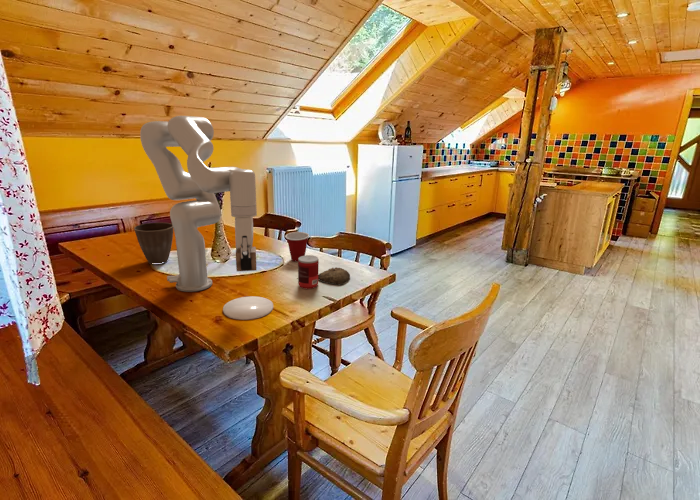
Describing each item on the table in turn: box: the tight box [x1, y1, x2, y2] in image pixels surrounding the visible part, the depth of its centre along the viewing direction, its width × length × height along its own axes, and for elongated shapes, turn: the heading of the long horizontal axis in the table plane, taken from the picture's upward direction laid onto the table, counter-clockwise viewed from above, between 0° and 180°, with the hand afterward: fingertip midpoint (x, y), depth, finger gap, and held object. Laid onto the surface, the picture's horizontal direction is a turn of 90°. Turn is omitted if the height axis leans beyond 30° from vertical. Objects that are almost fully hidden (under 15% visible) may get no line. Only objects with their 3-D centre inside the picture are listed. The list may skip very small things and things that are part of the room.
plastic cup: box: [285, 231, 310, 263], centre depth 174 cm, size 11×11×12 cm
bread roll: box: [318, 267, 351, 286], centre depth 154 cm, size 13×12×5 cm
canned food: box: [297, 254, 320, 290], centre depth 145 cm, size 8×8×11 cm
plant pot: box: [133, 222, 174, 265], centre depth 164 cm, size 15×15×16 cm
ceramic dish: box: [222, 295, 274, 321], centre depth 126 cm, size 16×16×1 cm
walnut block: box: [235, 246, 257, 272], centre depth 121 cm, size 6×6×6 cm
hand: (246, 265), depth 122 cm, fingers closed on walnut block, 6 cm apart
